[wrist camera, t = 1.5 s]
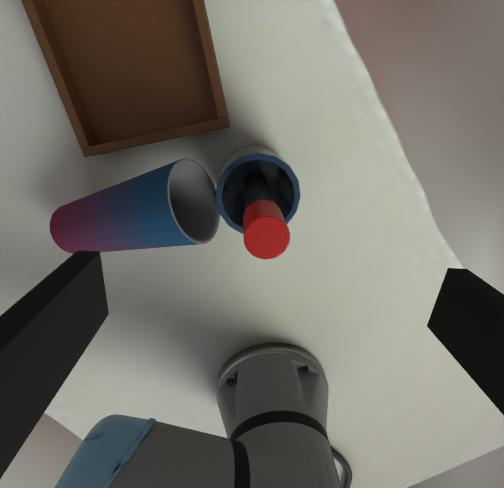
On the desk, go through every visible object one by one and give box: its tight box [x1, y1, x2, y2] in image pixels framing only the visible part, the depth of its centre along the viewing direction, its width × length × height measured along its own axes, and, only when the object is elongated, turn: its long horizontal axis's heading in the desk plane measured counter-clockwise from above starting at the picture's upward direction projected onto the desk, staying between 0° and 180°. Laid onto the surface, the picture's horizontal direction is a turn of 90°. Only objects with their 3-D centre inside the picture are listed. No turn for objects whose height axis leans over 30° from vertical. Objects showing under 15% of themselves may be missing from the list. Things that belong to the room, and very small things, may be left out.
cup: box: [50, 159, 220, 254], centre depth 27 cm, size 7×7×15 cm
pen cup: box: [215, 145, 300, 234], centre depth 29 cm, size 7×7×7 cm
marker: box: [243, 170, 290, 259], centre depth 24 cm, size 3×3×16 cm
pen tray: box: [22, 0, 230, 157], centre depth 25 cm, size 21×14×3 cm, turn 11°
